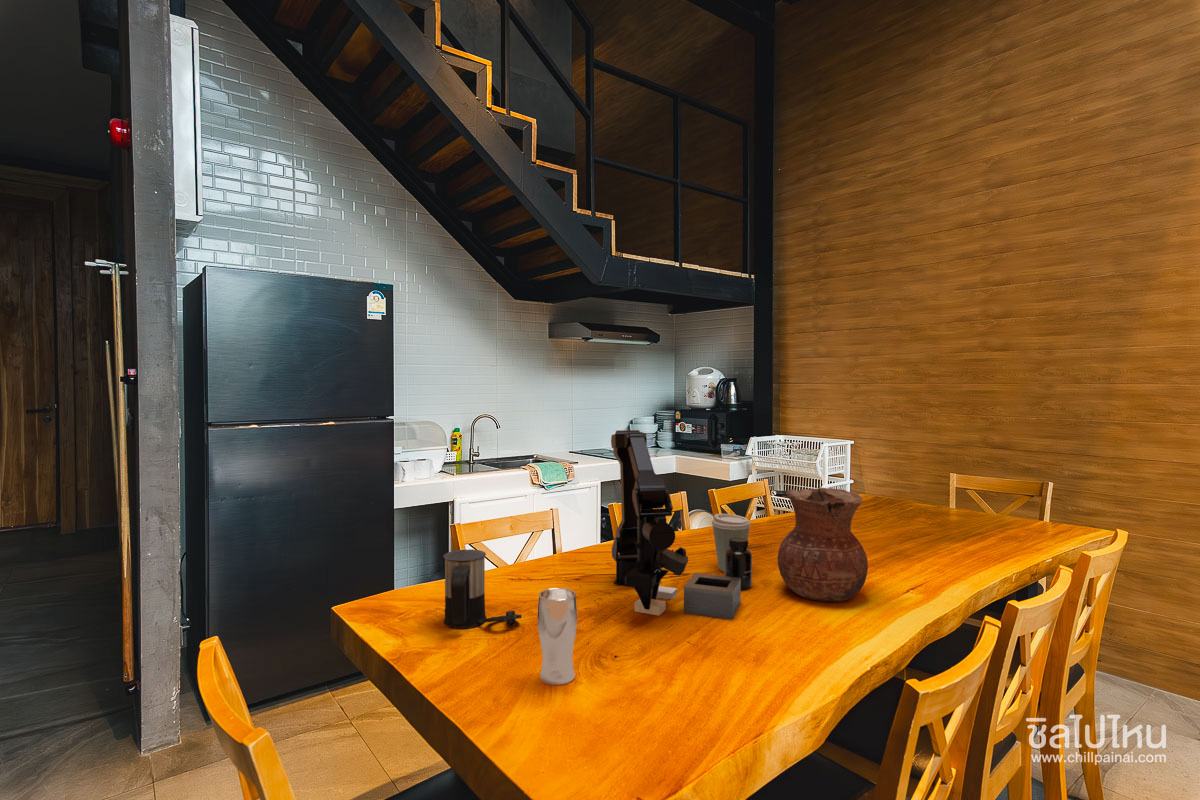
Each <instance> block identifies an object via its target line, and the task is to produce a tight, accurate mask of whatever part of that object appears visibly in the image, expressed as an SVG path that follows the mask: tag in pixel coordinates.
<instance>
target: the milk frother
mask: <svg viewBox="0 0 1200 800" xmlns="http://www.w3.org/2000/svg"><path fill="white" fill-rule="evenodd" d="M486 555H487V553H486V551H483V550H480V549H457V550H451V551H449V552H446V553H445V554H444V555H443V558H444V603H445V604H444V619H443V623H444V625H445V626H446V627H450V628H454V629H468V628H474V627H478V626H481V625H482V624H484V623H493V622H500V621H501V622H502V621H506V624H507V625H511V624H515V623H516V620H517V619H519V620H520V619H522V614H516V612H515V611H514V610H510V611H509V610H508V611H506V612H505V615H500V616H492V617H487V616H486V599H485V597H486V596H485V594H486V593H485V587H486V586H485V580H486V577H485V576H486V575H485V569H486V568H485V557H486Z"/></svg>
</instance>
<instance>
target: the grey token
mask: <svg viewBox="0 0 1200 800" xmlns="http://www.w3.org/2000/svg"><path fill="white" fill-rule="evenodd" d="M676 595H677V596H678V588H676V587H672V586H671V587H670V586H669V587H668V586H663V585H659V589H658V593H657V597H656V599H661V598H663V600H668V599H671V600H670V601H672V599H673V598H674V597H675V596H676ZM677 596H676V597H677ZM676 597H675V598H676ZM675 598H674V599H675ZM674 599H673V600H674Z"/></svg>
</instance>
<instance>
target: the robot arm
mask: <svg viewBox="0 0 1200 800" xmlns="http://www.w3.org/2000/svg"><path fill="white" fill-rule="evenodd" d="M610 441H611V442H610V445H611V449H613V456H614V457H615V458H616V460H617V462H618V463H619V471H620V472H619V473H620V476H619V477H620V502H621V503H620V504H621V507H620V508H621V521H620V523H619V524H618V526H617V528H616V530H615V537H614V539H613V543H612V545H611V557H612V558H613V560H614V561H615V565H616V567H615V571H616V572H615V574H616V575H615V576H616V577H615V580H614V581H613V584H615V585H622V586H630V587H631V586H632V587H633V588H634V590H635V591H636V594H637V595H638V599H640V600H641V602H642V604H643V606H644V609H647V610H649V609H650V604H651V599H655V600H657V598H656V597H657V593H658V589H659V586H661V585H660V584H661V582H662V581H661V580H662V579H663V578H664V577H665V576H667V574H668V573H669V572H671V573H673V575H675V576H681V575H682V574H683V573H684V572H685V569H686V567H687V564H688V563H689V556H687V551H686V548H683V547H682V546H679V547H678V548H677V549H676V550H675V549H669V548H671V546H673V544H674V543H675V539H676V532H675V530H674V528H673V527H672V525H670V524H669V523H667V517H672V516H673V509H674V507H673V503H672V499H671V495H670V492H669V491H668V488H667V487H666V485H665V482H664V480H663V479H662V477H660V476H659V475H658V474H656V472H655V470H654V467H653V463H652V461H651V460H652V459H651V456H650V452H649V449H648V443H647V441H648V440H647V433H645V432H642V431H640V430H639V429H638V430H637V429H634V430H633V429H632V430H626V429H625V430H624V429H623V430H616V431H615V434H611V438H610Z"/></svg>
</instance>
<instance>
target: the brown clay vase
mask: <svg viewBox="0 0 1200 800" xmlns="http://www.w3.org/2000/svg"><path fill="white" fill-rule="evenodd" d="M785 494H786V496H787V497H788V499H789V500H790V503H791V505H792V508H793V511H794V516H795V526H794V527H793V529H791V530H790V531H789V532H788V534H786V536H785V537H784V538H783V539H782V541H781V543H780V545H779V549H778V550H777V551H778V552H777V557H776V558H777V567H778V570H779V573H780V574H779V575H780V576H781V578H782V580H783V582H784V583H785V585H786V586H787V587H788V588H789V589H790V590H791V591H792V592H793V593H795V594H797V595H798V596H800V597H802V598H804V599H807V600H813V601H818V602H823V603H840V602H841V603H842V602H846V601H849V600H850V599H852V598H853V597H854V596H855V595H857V594H858V593H859V592H860V591H861V590H862V589H863V586H864V584H865V583H866V579H867V576H868V575H867V574H868V570H869V567H868V566H869V565H868V564H869V562H868V556H867V554H866V551H865V549H864V547H863V545H862V544H861V543H860V541H859V539H858V538H857V537H856V536H855V534H853V533H852V530H851V529H852V528H851V527H852V521H853V517H854V515H855V513H856V512H857V510H858V509H859V507H860V506H861V505H862V503H863V498H862V496H861V495H859V494H857V493H855V492H850V491H847V490H845V489H841V488H840V489H839V488H830V487H829V488H828V487H827V488H826V487H818V488H803V489H800V490H796V489H789V490H786V492H785Z"/></svg>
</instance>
